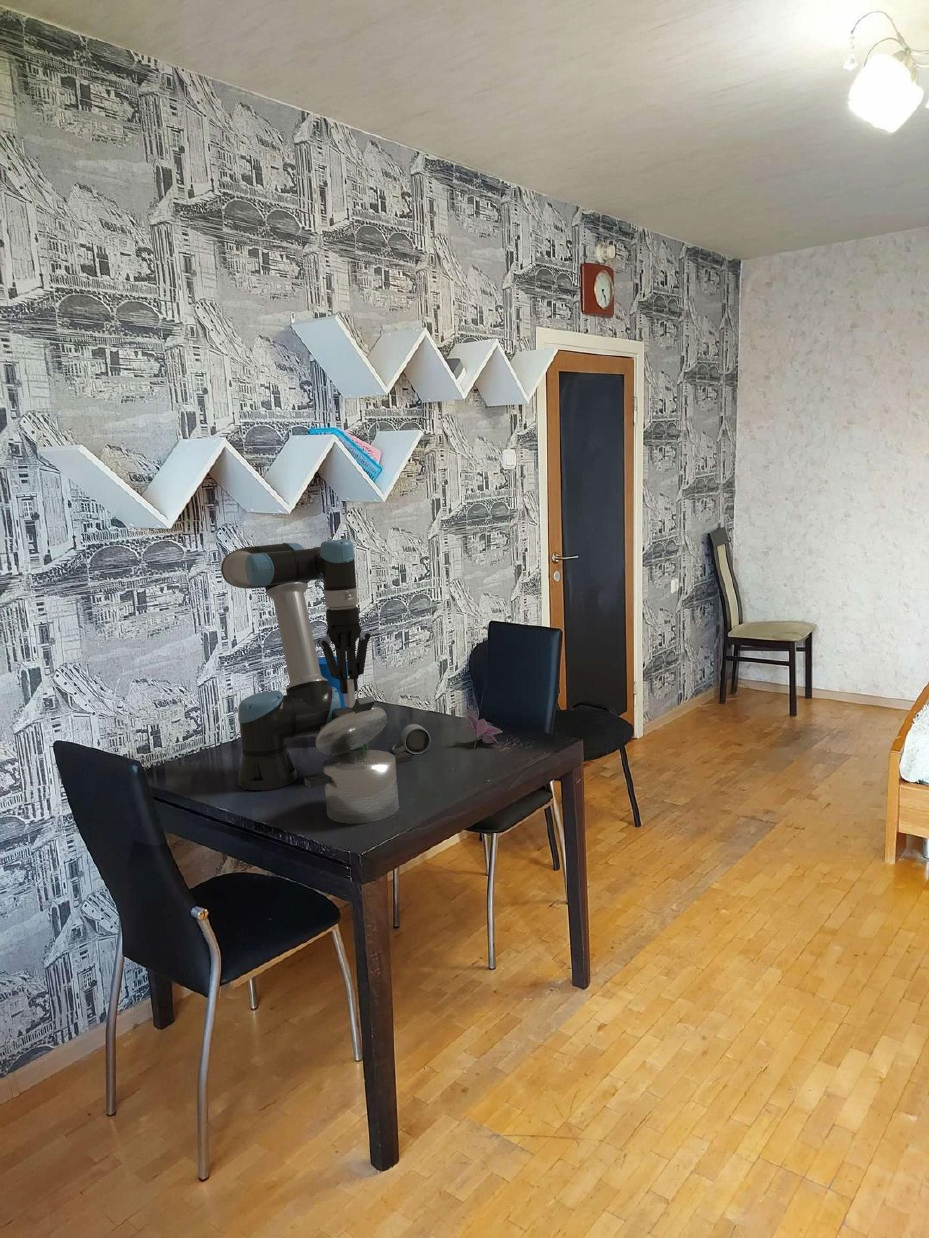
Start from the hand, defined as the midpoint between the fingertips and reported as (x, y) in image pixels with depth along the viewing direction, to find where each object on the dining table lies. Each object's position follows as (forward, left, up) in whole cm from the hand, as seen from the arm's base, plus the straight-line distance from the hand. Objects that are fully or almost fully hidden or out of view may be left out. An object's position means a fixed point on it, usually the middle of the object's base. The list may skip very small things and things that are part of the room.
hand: (350, 705), depth 208 cm
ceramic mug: (-28, +32, -25) cm, 50 cm away
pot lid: (+1, 0, -5) cm, 6 cm away
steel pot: (+2, 0, -25) cm, 25 cm away
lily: (-18, +50, -25) cm, 59 cm away
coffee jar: (-22, +10, -25) cm, 35 cm away
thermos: (-54, +21, -25) cm, 63 cm away
